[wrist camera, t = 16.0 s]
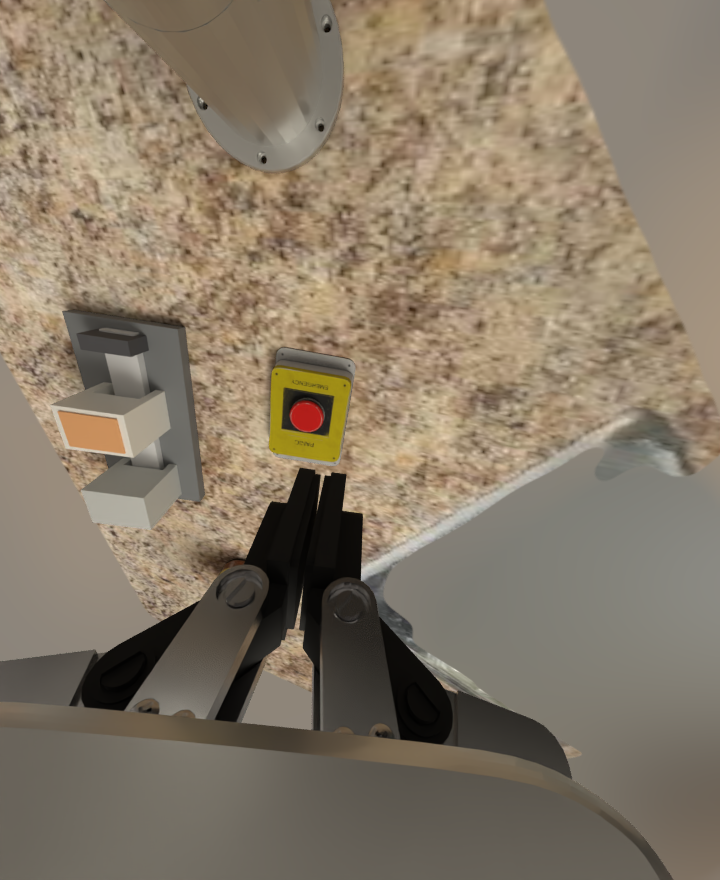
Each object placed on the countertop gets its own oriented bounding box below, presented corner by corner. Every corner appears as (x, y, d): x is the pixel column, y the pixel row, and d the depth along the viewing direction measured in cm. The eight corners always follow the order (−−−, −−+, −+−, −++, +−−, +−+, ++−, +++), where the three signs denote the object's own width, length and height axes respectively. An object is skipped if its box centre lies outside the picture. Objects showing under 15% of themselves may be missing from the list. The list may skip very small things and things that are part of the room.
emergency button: (355, 369, 33) (336, 483, 40) (357, 359, 36) (339, 464, 44) (266, 353, 32) (263, 472, 39) (277, 344, 36) (273, 454, 43)
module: (103, 382, 37) (48, 405, 30) (164, 391, 37) (121, 416, 31) (113, 420, 39) (64, 449, 33) (170, 428, 39) (132, 458, 33)
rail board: (74, 309, 34) (-9, 321, 27) (184, 327, 35) (134, 342, 27) (122, 483, 46) (73, 525, 38) (204, 495, 46) (172, 538, 39)
